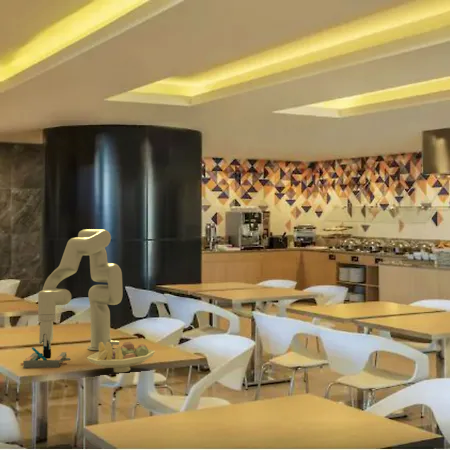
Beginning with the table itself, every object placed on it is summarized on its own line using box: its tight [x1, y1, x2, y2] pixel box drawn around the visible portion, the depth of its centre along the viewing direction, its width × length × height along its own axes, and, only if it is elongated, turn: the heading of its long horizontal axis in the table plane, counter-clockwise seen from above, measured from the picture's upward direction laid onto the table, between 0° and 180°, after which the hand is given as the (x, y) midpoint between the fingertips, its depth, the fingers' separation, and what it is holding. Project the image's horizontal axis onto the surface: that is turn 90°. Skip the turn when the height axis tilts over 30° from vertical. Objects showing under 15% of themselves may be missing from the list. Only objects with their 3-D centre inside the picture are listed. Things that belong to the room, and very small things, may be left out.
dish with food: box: [86, 341, 156, 373], centre depth 315 cm, size 28×28×14 cm
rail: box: [20, 351, 71, 369], centre depth 336 cm, size 20×24×3 cm
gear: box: [31, 346, 48, 360], centre depth 333 cm, size 11×6×10 cm
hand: (47, 358), depth 339 cm, fingers closed
